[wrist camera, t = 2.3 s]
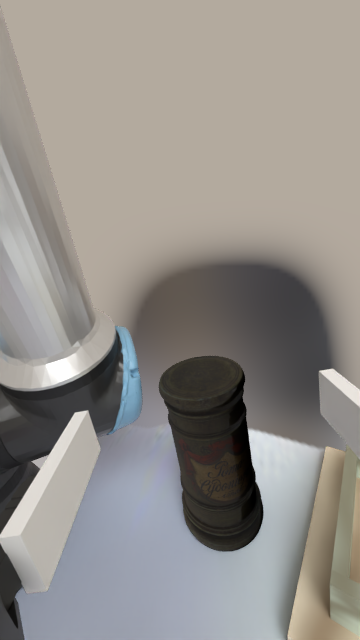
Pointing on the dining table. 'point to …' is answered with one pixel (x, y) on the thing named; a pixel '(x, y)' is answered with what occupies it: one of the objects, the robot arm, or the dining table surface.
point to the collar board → (331, 556)
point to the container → (213, 450)
